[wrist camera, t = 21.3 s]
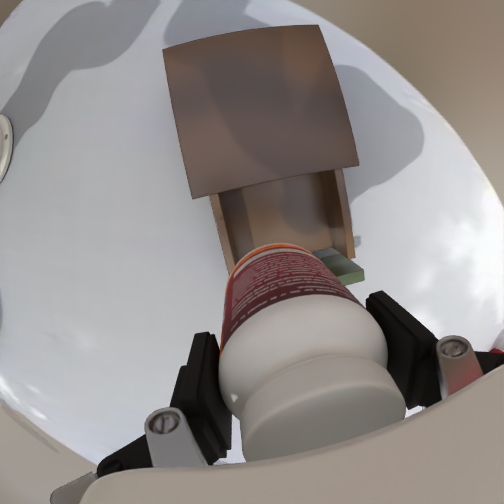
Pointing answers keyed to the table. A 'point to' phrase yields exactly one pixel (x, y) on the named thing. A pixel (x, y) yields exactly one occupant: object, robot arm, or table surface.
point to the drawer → (289, 220)
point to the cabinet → (257, 108)
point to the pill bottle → (300, 357)
